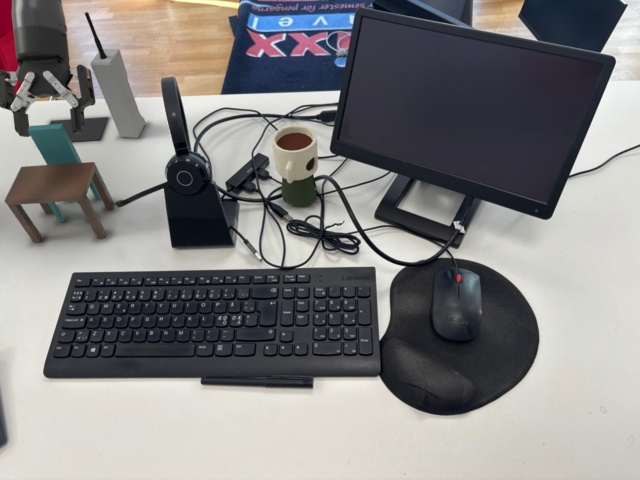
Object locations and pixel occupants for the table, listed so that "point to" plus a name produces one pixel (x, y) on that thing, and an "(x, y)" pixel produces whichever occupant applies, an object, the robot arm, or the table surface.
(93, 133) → the mat
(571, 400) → the table surface
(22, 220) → the desk
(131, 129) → the vintage mobile phone
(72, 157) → the chair
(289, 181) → the character mug
